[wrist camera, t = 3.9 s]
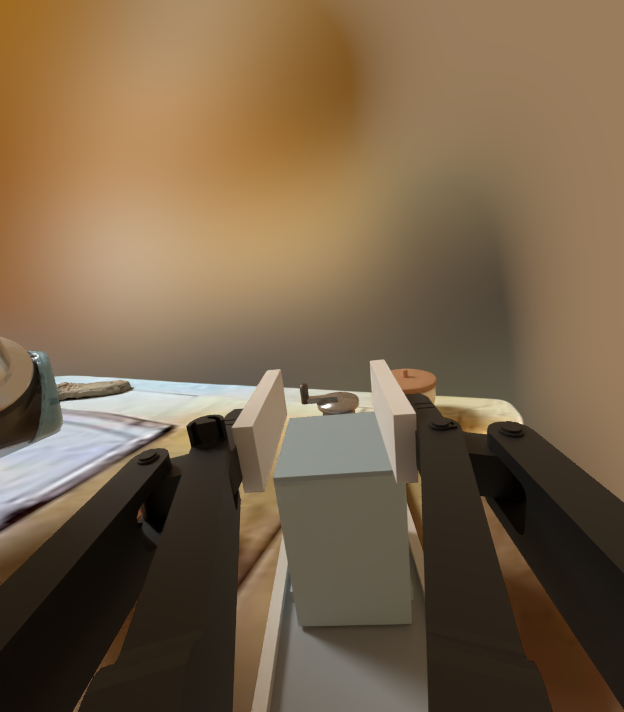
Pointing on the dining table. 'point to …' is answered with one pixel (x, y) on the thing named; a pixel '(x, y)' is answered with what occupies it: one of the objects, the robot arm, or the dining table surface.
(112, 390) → the elongated rock
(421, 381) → the lidded jar
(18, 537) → the dining table surface
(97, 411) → the dining table surface
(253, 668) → the dining table surface
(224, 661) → the robot arm
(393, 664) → the bay
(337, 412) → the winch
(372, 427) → the grey tall block
